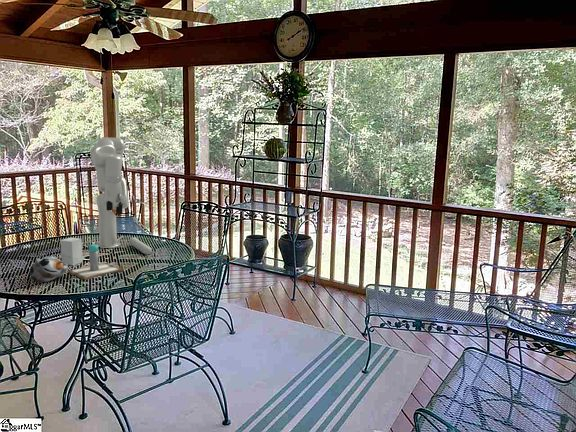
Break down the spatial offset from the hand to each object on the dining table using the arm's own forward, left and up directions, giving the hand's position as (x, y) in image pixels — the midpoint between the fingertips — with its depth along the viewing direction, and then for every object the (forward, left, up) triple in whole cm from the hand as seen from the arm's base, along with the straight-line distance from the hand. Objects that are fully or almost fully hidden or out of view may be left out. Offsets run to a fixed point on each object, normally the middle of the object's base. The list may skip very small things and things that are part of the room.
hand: (114, 211), depth 254 cm
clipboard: (+11, -18, -26) cm, 34 cm away
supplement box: (-11, -19, -27) cm, 34 cm away
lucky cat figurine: (+6, -38, -27) cm, 47 cm away
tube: (-9, +21, -27) cm, 36 cm away
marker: (+11, -19, -25) cm, 33 cm away
